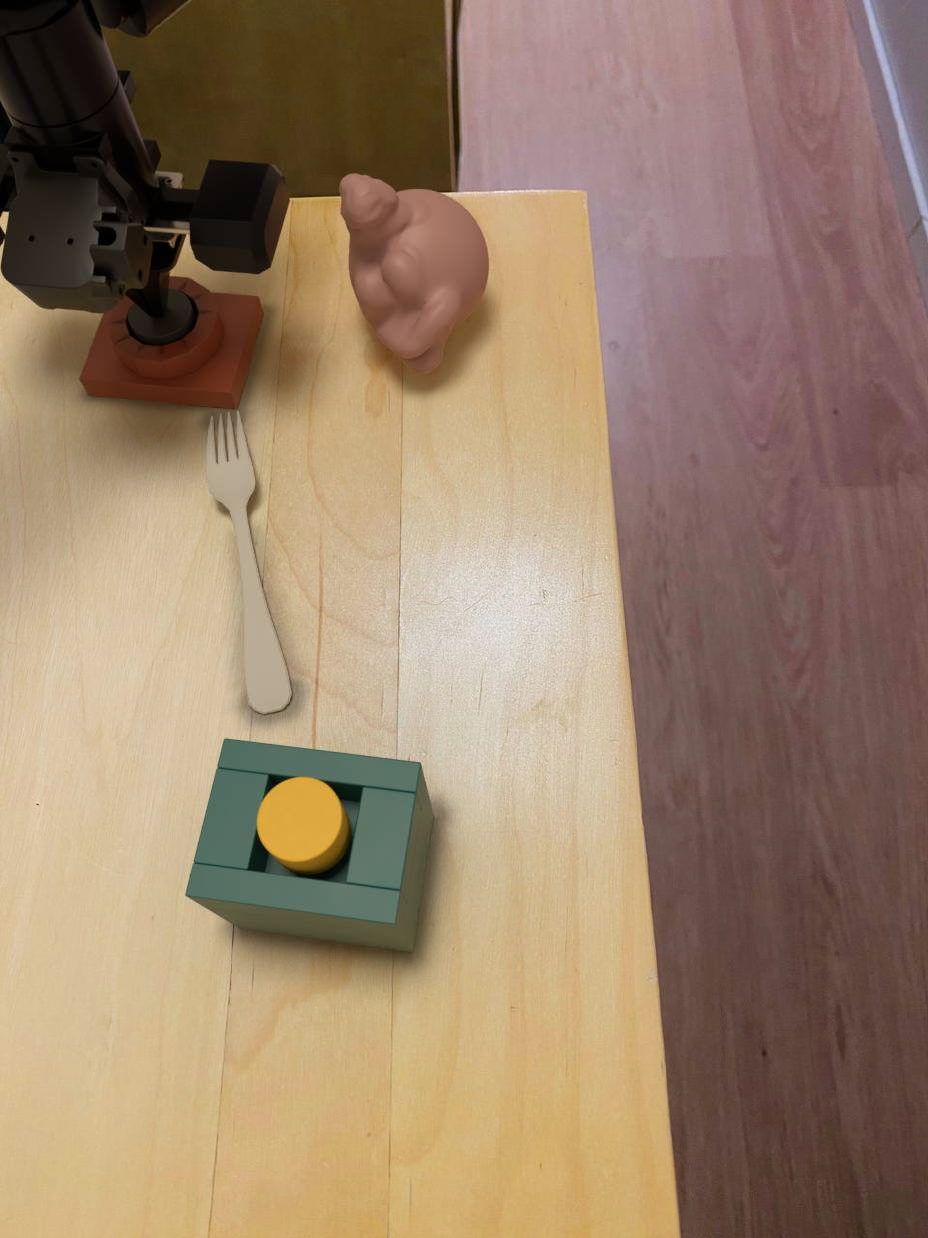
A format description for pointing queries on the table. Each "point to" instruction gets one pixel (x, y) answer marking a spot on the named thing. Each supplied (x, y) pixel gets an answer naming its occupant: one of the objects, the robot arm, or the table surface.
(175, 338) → the far button
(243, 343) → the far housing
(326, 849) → the cylinder
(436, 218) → the figurine
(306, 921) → the green push button box
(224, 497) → the fork
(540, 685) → the table surface
